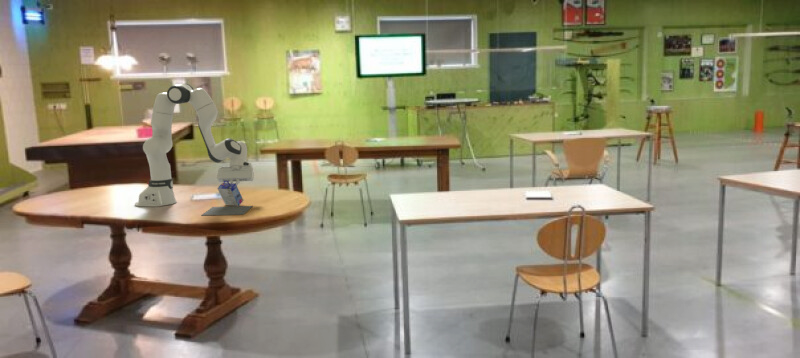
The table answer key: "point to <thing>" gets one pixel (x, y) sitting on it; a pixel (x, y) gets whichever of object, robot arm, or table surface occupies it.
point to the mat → (227, 210)
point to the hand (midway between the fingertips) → (233, 186)
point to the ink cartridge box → (230, 194)
